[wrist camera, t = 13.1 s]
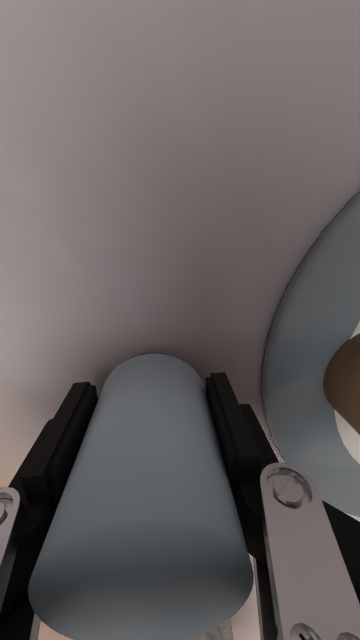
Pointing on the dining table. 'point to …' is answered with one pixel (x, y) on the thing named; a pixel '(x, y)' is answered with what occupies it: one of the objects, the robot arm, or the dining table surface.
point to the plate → (317, 362)
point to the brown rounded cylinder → (345, 382)
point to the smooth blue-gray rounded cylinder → (144, 517)
